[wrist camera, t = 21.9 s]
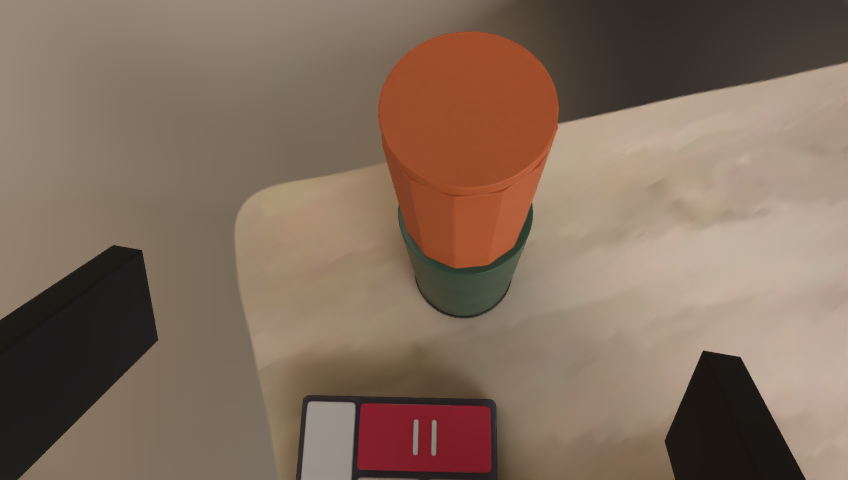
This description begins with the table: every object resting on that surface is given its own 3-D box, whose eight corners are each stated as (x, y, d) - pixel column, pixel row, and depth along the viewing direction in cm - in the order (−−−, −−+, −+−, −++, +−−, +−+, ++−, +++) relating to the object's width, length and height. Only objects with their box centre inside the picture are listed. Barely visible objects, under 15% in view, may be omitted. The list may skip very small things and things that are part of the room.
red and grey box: (500, 563, 37) (286, 557, 37) (493, 548, 41) (300, 543, 42) (497, 399, 41) (300, 394, 41) (491, 400, 45) (312, 396, 45)
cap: (542, 181, 34) (584, 63, 22) (496, 286, 32) (518, 216, 20) (435, 140, 35) (423, 9, 24) (385, 239, 33) (347, 148, 22)
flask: (526, 246, 48) (564, 155, 31) (489, 334, 46) (507, 288, 29) (439, 210, 49) (428, 104, 32) (398, 294, 47) (365, 227, 30)
